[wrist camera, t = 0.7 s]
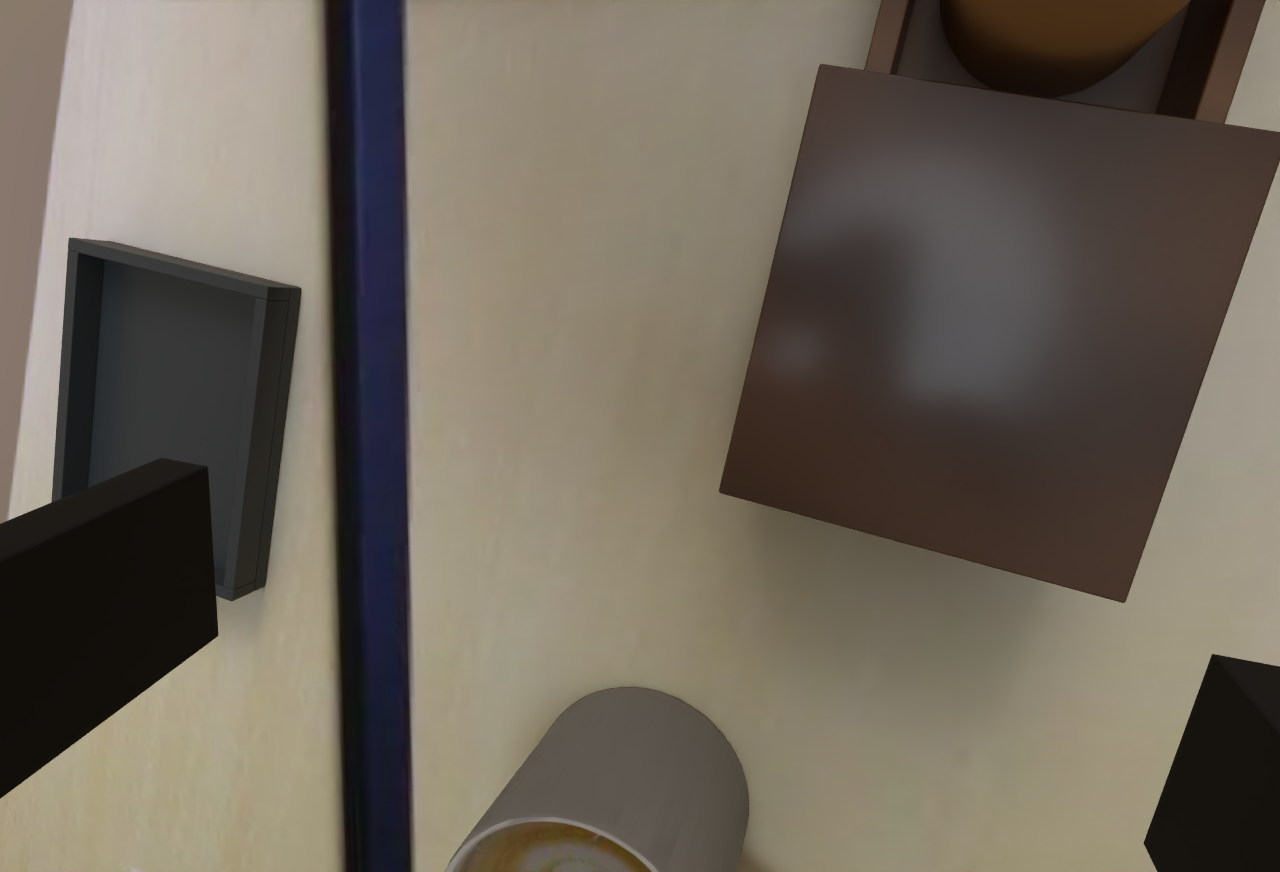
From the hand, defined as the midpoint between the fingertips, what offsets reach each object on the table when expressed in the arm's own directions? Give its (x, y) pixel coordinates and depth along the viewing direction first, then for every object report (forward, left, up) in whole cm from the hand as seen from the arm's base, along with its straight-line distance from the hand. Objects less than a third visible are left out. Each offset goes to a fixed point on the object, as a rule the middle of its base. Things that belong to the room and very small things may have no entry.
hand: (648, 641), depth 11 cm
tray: (+7, -29, -24) cm, 39 cm away
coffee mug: (+19, -1, -24) cm, 31 cm away
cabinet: (-5, +5, -24) cm, 25 cm away
